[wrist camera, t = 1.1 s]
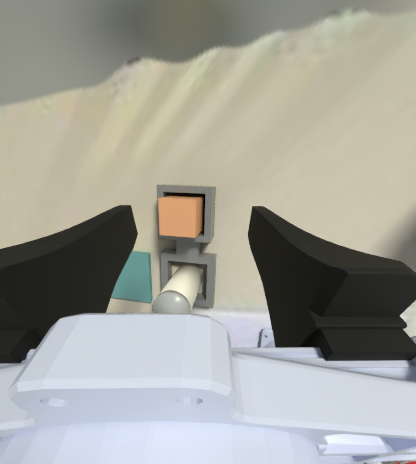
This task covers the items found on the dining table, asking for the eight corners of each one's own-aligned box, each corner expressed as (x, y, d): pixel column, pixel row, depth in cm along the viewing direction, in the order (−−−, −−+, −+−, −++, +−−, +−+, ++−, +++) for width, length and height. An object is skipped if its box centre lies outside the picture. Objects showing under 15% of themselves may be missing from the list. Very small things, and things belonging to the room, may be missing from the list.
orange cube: (202, 229, 24) (195, 237, 20) (172, 227, 24) (159, 235, 20) (203, 197, 23) (196, 199, 19) (171, 195, 23) (158, 197, 19)
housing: (214, 301, 28) (211, 315, 25) (165, 295, 29) (157, 307, 26) (219, 186, 23) (216, 187, 21) (162, 184, 24) (152, 184, 22)
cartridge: (202, 289, 27) (188, 330, 20) (176, 286, 28) (152, 324, 20) (203, 264, 26) (188, 297, 19) (176, 261, 27) (151, 292, 19)
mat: (152, 300, 29) (150, 302, 29) (106, 294, 31) (103, 296, 30) (150, 252, 27) (148, 254, 27) (100, 248, 28) (98, 249, 28)
